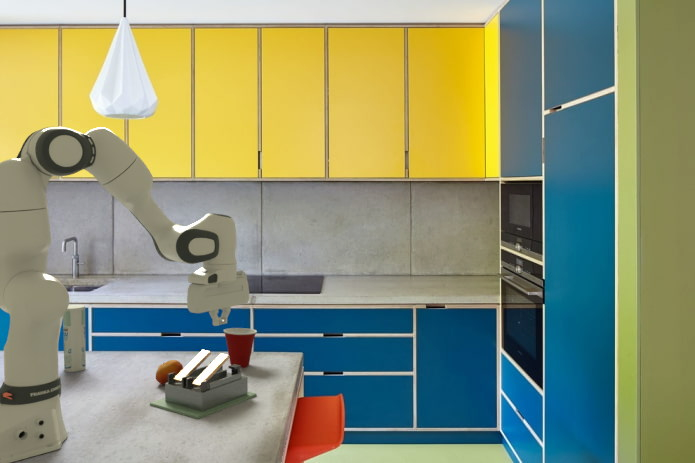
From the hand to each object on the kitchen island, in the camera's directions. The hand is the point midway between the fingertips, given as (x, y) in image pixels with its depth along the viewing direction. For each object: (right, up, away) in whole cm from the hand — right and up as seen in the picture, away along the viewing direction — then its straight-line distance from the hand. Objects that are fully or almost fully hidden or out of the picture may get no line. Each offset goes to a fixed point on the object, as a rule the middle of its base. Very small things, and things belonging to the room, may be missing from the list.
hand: (219, 324), depth 174 cm
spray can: (-52, -19, +31) cm, 63 cm away
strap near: (-2, -12, -2) cm, 13 cm away
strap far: (-8, -12, +2) cm, 14 cm away
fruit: (-18, -20, +17) cm, 32 cm away
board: (-4, -21, +2) cm, 21 cm away
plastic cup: (0, -19, +36) cm, 41 cm away
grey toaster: (-4, -21, +2) cm, 21 cm away
